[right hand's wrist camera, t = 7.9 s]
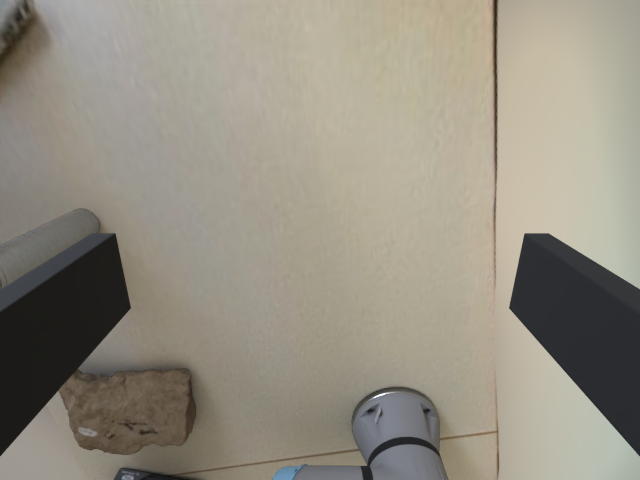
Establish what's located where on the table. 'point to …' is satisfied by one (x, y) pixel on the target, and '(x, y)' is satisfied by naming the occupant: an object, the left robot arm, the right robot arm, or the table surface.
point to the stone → (129, 409)
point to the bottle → (44, 243)
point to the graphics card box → (140, 475)
